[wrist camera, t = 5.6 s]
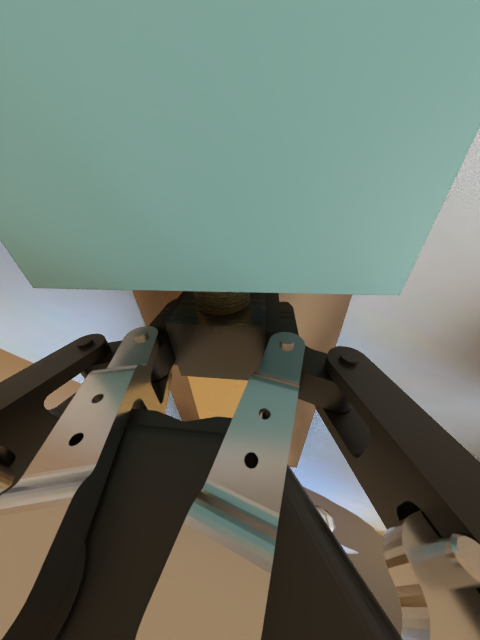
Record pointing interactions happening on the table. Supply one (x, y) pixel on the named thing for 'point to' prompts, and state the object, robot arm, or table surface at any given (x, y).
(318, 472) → the table surface
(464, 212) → the table surface
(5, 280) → the table surface
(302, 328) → the base board
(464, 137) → the teal rectangular block
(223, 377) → the plug
